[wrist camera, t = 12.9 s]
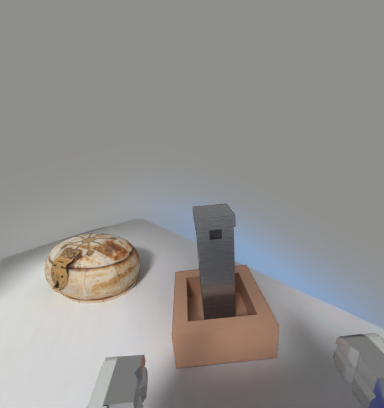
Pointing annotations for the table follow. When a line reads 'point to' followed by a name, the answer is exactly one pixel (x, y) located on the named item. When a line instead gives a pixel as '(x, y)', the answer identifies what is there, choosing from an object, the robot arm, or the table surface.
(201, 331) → the holder
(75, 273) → the trinket box
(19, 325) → the table surface
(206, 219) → the grey chimney stack
